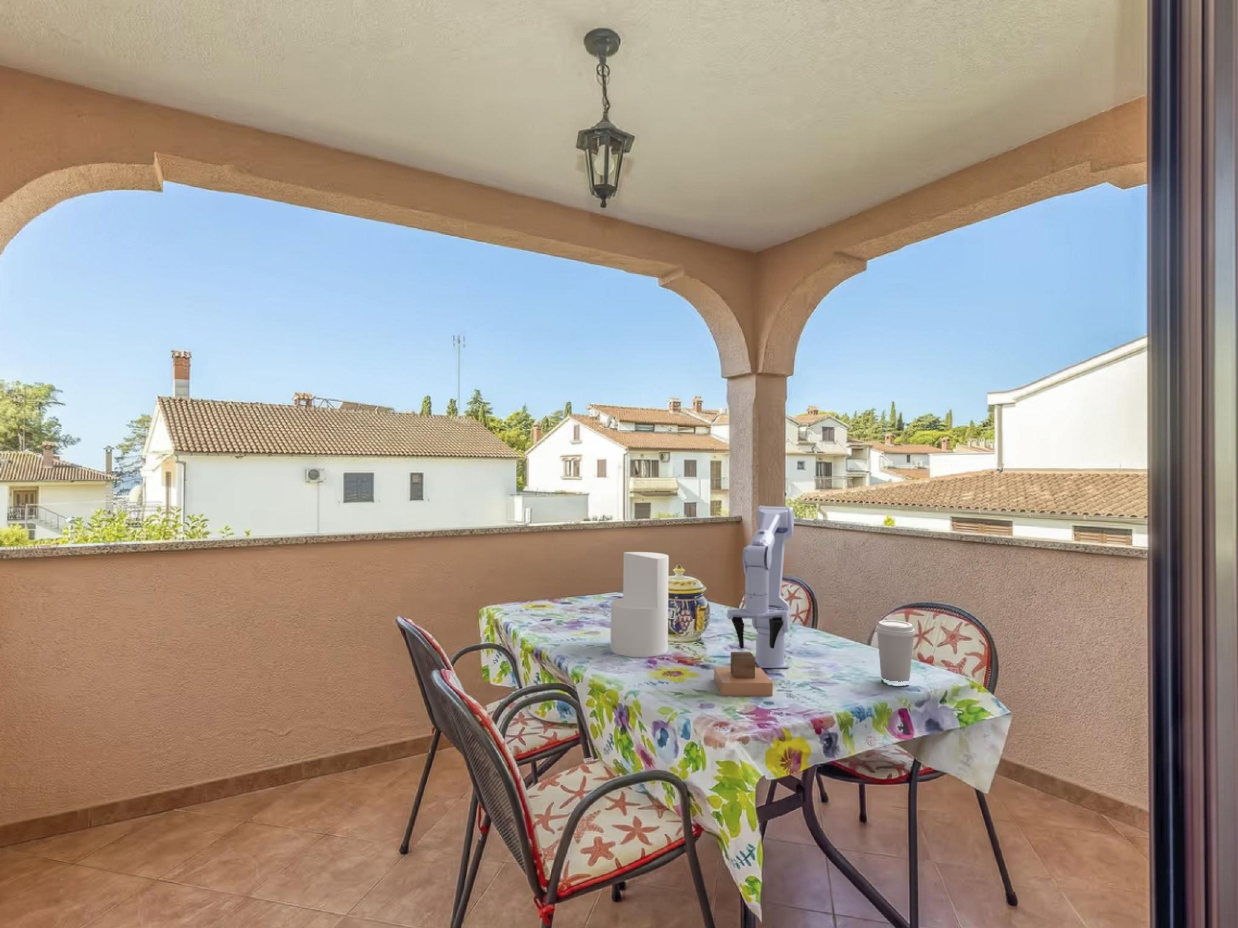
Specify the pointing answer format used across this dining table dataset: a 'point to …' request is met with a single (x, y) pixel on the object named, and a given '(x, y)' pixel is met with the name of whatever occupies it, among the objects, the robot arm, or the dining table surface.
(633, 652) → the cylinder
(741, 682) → the terracotta plinth
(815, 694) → the dining table surface
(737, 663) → the walnut block
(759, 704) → the dining table surface
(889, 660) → the coffee cup
